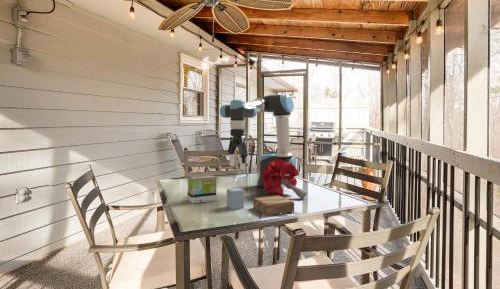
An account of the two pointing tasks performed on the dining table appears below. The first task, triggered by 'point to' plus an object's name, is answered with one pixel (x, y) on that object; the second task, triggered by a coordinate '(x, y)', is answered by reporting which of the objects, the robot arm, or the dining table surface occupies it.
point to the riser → (273, 205)
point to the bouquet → (281, 178)
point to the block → (235, 198)
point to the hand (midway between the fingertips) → (237, 167)
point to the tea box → (202, 188)
